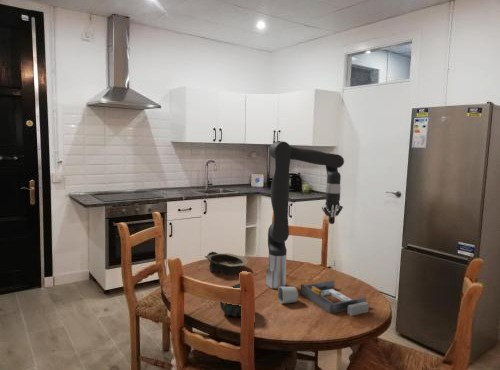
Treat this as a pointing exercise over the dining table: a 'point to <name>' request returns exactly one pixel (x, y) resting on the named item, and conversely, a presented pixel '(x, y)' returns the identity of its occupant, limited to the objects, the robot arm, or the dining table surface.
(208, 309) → the dining table surface
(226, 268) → the stone bowl
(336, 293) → the grey flat arch
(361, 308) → the panel
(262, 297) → the dining table surface
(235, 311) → the squash
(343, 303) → the rack bay
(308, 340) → the dining table surface
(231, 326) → the dining table surface
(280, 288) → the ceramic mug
